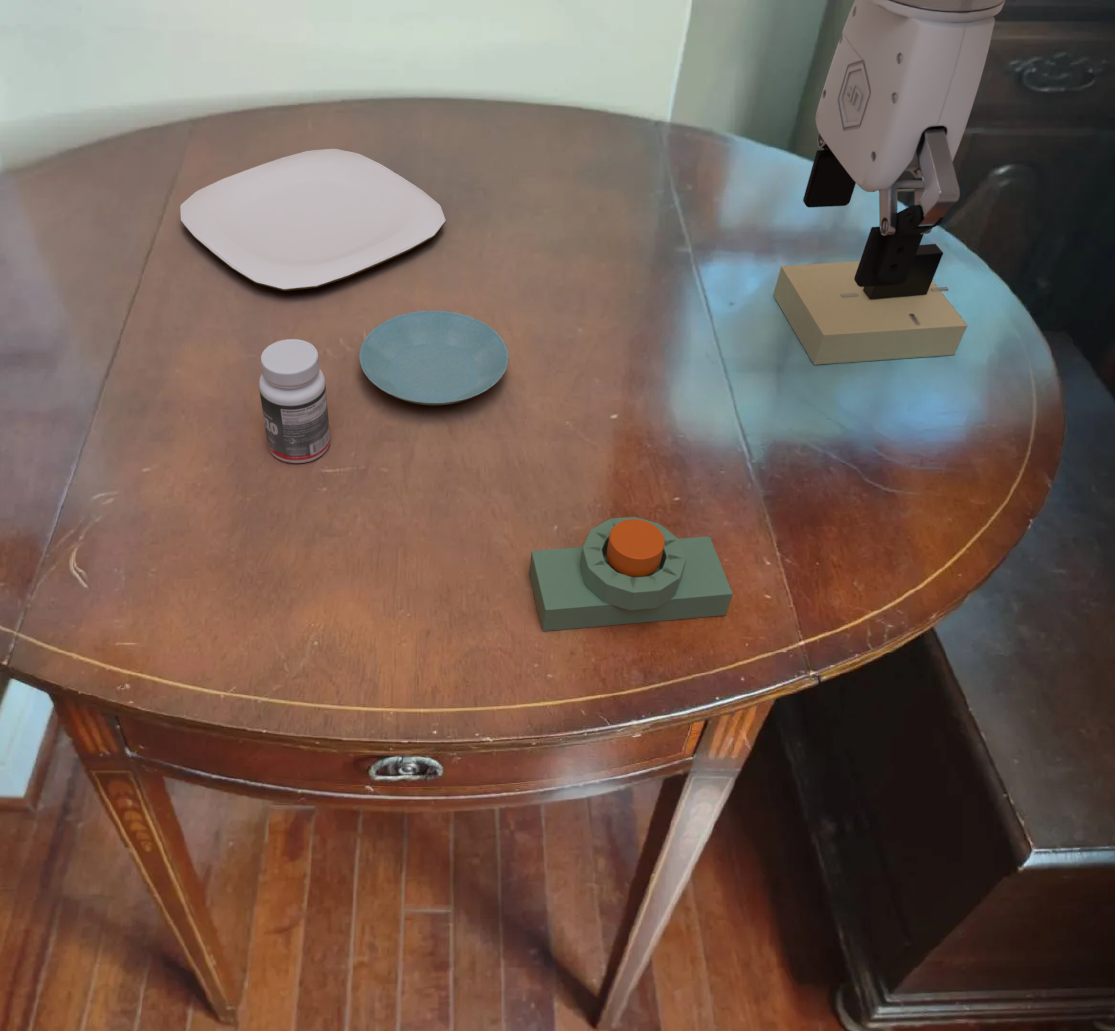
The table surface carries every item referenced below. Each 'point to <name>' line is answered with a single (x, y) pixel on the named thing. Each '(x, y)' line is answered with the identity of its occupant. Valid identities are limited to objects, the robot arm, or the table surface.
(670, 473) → the table surface
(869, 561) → the table surface
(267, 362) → the pill bottle
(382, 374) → the saucer
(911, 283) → the knob
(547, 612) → the block
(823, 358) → the panel
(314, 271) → the plate
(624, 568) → the button
